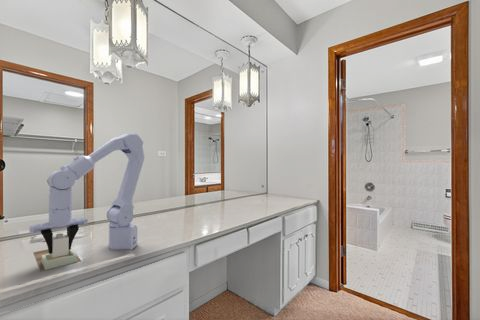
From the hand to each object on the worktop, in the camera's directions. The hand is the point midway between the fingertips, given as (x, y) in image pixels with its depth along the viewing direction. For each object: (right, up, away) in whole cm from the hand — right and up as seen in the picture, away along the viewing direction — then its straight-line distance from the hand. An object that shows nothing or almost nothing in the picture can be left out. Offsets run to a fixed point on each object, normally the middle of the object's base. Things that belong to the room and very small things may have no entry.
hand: (59, 250), depth 73 cm
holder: (0, -4, 0) cm, 4 cm away
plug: (0, -1, 0) cm, 1 cm away
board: (-4, -4, +4) cm, 7 cm away
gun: (-18, -5, +22) cm, 29 cm away
